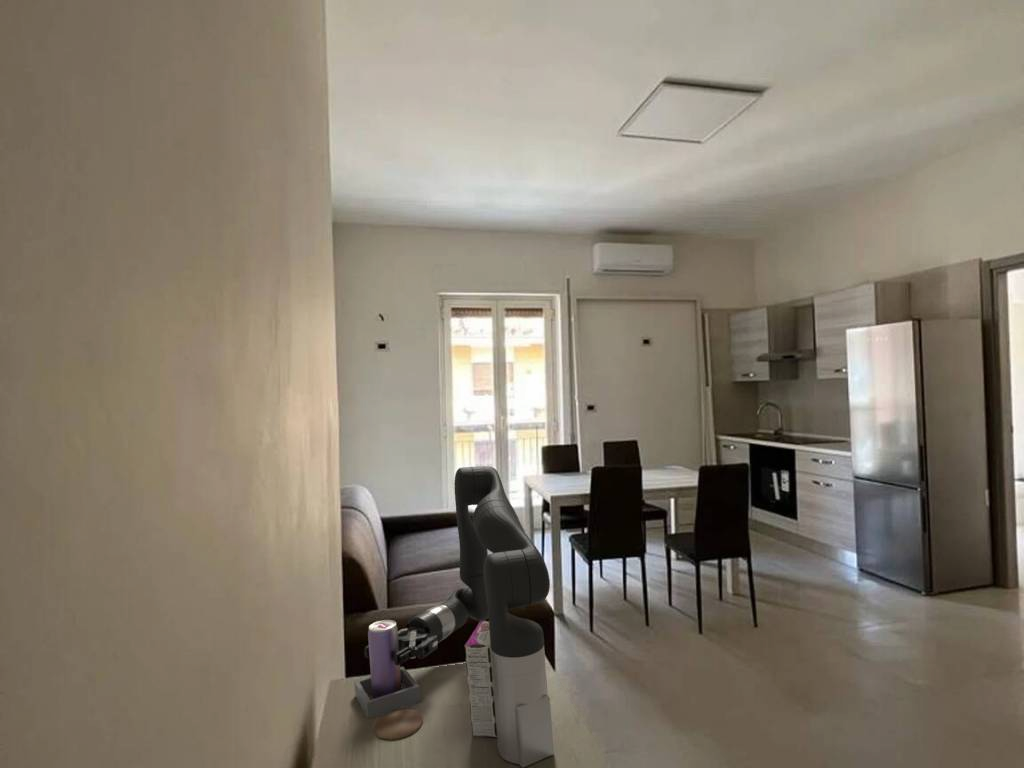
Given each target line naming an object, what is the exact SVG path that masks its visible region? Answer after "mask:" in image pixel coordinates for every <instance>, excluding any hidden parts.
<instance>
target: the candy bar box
mask: <svg viewBox="0 0 1024 768" xmlns="http://www.w3.org/2000/svg"><path fill="white" fill-rule="evenodd" d="M464 653H465V664H466V665H465V666H466V676H467V678H466V679H467V686H468V699H469V708H470V709H469V711H470V723H471V736H473V737H478V738H497V728H496V716H495V702H494V688H493V674H492V659H491V645H490V630H489V620H488V621H487V620H484V621H478V624H477V626H476V628H475V629H474V631H473V632H472V634H471V635H470V637H469V638H468V640H467V642H466V643H465V644H464Z"/></svg>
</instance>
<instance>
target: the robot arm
mask: <svg viewBox="0 0 1024 768" xmlns="http://www.w3.org/2000/svg"><path fill="white" fill-rule="evenodd" d="M453 484H454V485H453V486H454V488H453V489H454V503H455V514H456V515H455V516H456V525H457V532H458V542H459V579H460V580H461V582H462V583H463V584H464V585H460V586H458V587H457V588H456V589H455V590H454V591H453V592H452V594H451V595H449V596H448V598H447V599H446V601H444V602H442V603H440V604H438V605H436V606H432V607H430V608H428V609H426V610H425V611H423V612H420V613H419V614H417V615H415V616H414V617H412V618H410V619H409V621H407V624H406V626H405V628H401V629H399V630H398V643H399V652H398V653H396V654H395V656H394V661H395V665H400V666H401V665H402V664H404V663H405V662H407V661H408V660H410V659H411V660H413V659H416V658H417V657H418V659H419V660H423V659H425V658H426V657H428V656H429V655H430V654H431V653H433V652H434V651H436V650H438V649H439V647H438V644H439V643H441V642H442V641H443V640H445V639H446V638H447V637H449V636H450V635H451V634H452V633H454V632H455V631H457V630H459V629H460V628H462V627H463V626H464V625H465V624H466V622H467V620H468V618H471V619H473V620H475V621H477V622H480V621H487V619H488V621H489V630H490V645H491V659H492V674H493V688H494V702H495V716H496V728H497V737H496V738H497V739H496V741H497V751H498V754H499V756H500V757H501V758H502V759H503V760H505V761H507V762H509V763H511V764H517V765H519V766H520V767H521V768H525V767H528V766H530V765H532V764H535V763H537V762H540V761H541V760H544V759H546V758H548V757H551V756H553V755H554V754H555V749H554V735H553V722H552V721H553V720H552V719H553V718H552V708H551V698H550V695H549V693H548V681H547V680H548V679H547V669H546V668H547V666H546V653H545V638H544V631H543V630H544V629H543V628H542V626H541V625H540V624H539V623H537V622H535V621H533V620H531V619H527V618H524V617H519V616H515V615H513V614H511V613H510V612H509V611H508V609H512V608H517V607H518V608H519V607H525V606H532V605H535V604H539V603H541V602H543V601H544V600H545V599H546V598H547V597H548V595H549V593H550V587H551V582H550V581H551V580H550V579H551V578H550V575H549V570H548V568H547V564H546V562H545V559H544V558H543V556H542V554H541V552H540V551H539V549H538V548H537V546H536V545H535V544H534V543H533V541H532V540H531V539H530V538H529V536H528V535H527V533H526V531H525V529H524V528H523V526H522V523H521V521H520V519H519V517H518V515H517V513H516V511H515V509H514V507H513V506H512V504H511V502H510V500H509V499H508V496H507V494H506V492H505V488H504V485H503V482H502V479H501V476H500V474H499V472H498V470H497V469H496V468H495V467H493V466H490V465H486V466H485V465H483V466H464V467H458V469H457V470H456V472H455V475H454V483H453ZM469 506H475V508H474V511H473V514H472V517H471V515H470V511H469V510H470V509H469ZM471 518H472V519H471ZM488 551H489V552H491V553H490V554H489V552H488ZM363 651H364V654H363V655H364V657H365V658H366V659H370V655H369V644H368V645H366V646H365V647H364V649H363Z"/></svg>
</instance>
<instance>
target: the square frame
mask: <svg viewBox="0 0 1024 768" xmlns="http://www.w3.org/2000/svg"><path fill="white" fill-rule="evenodd" d="M400 673H401V685H402V686H403V687H404V689H403V688H402V690H400V691H397V692H394V693H391V694H388V695H384V696H381V697H378V698H375V699H370V697H369V696H368V694H372V686H371V676H368V677H365V678H361V679H358V680H354V692H355V693H354V695H355V698H356V699H357V701H358V703H359V705H360V707H361V709H362V710H363V712H364V715H365V716H366V718H367V719H368V720H369V719H372V718H375V717H378V716H381V715H383V714H384V715H385V714H387V713H389V712H392V711H396V710H400V709H401V708H405V707H408V706H412V705H413V704H416V703H419V702H421V693H420V692H421V691H420V690H421V689H420V685H419V684H418V682H417V681H415V679H414V678H413V677H412V675H411V674H410V673H409V672H408V671H407V669H406V668H405V667H404V666H400Z"/></svg>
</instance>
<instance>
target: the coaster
mask: <svg viewBox="0 0 1024 768" xmlns="http://www.w3.org/2000/svg"><path fill="white" fill-rule="evenodd" d="M423 722H424V719H423V715H422V714H421V712H419V711H417V710H415V709H408V708H404V709H396V710H393V711H390V712H387V713H384V715H383V714H382V716H381V717H379V718H378V719H377V720H376V721H375V723H374V725H373V732H374V734H375V736H377V737H378V738H381V739H383V740H399V739H403V738H406V737H409V736H411V735H413V734H415V733H416V732H417V731H418V730H420V728H421V727H422V726H423Z"/></svg>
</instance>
